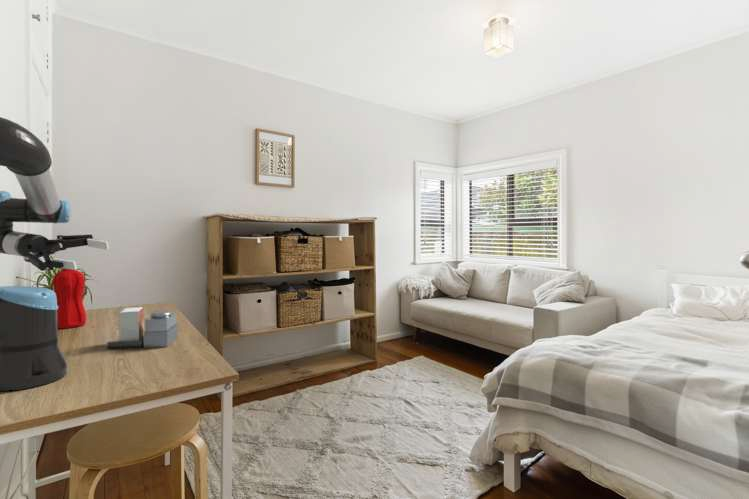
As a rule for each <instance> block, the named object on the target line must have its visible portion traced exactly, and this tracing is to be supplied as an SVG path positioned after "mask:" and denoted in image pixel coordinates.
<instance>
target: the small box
mask: <svg viewBox="0 0 749 499" xmlns="http://www.w3.org/2000/svg"><path fill="white" fill-rule="evenodd" d="M118 318H119V321H118V325H119V327H118V328H119V339H120V341H139V340H141V339H142V338H143V337H144V332H145V330H144V328H145V324H144V322H145V321H144V306H140V307H124V309H122V310H120V312H118Z"/></svg>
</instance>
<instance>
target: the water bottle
mask: <svg viewBox="0 0 749 499" xmlns="http://www.w3.org/2000/svg"><path fill="white" fill-rule="evenodd" d="M52 278H53V279H52V286H53V289H54V290H53V291H54V292H55V294H56V298H57V306H58V309H57V328H58V329H63V330H64V329H70V328H71V329H72V328H76V327H77V328H78V327H82V326H84V325H85V324H87V313H86V310H85V306H84V303H83V294H84V290H85V286H86V279H85V276H84V274H83V273H82V272H81V271H78V269H76V270H71V269H65V268H61V270H60V271H59V272H56V273H55V274H54V276H53V277H52Z"/></svg>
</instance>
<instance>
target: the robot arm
mask: <svg viewBox="0 0 749 499" xmlns="http://www.w3.org/2000/svg"><path fill="white" fill-rule="evenodd" d="M52 164H53V163H52V157H51V155H50V151H49V149H48V148H47V146H46V145H45V144H44V143H43V142H42V140H40V138H38V136H36V135H35V134H34V133H32V132H31V131H30V130H29V129H27V128H26V127H24V126H22V125H21V124H19V123H18V122H14V121H12V120H10V119H7V118H4V117H1V116H0V166H2V167H6V169H7V170H9V171H10V172H11V173H13V174H14V175H15V177H16V180H17V182H18V184H19V186H20V188H21V190H22V192H23V194H24V197H25V198H18V197H17V198H16V197H12V196H11V193H10V192H8V191H5V190H0V254H4V255H11V256H17V257H22V258H23V260H24V262H28V263H31V265H33V266H34V267H36V268H37V269H38V270H40V271H42V272H44V271H46V269H47V268H48V271H54V270H55V269H54V268H56V269H62V268H65V269H71V270H78V267H77V262H76V260H69V259H63V258H56V257H53V258H52V259H51V255H54V254H56V253H57V252H60V251H66V250H67V249H72V248H78V247H86V246H88V247H89V248H95V249H101V250H109V249H110V245H109V241H107V240H101V239H97V238H94V237H93V234H76V235H75V234H74V235H73V234H72V235H71V234H70V235H62V234H58V235H56V239H48V238H47V237H45V236H43V235H41V234H35V233H29V232H22V231H14V224H13V223H40V224H42V223H44V224H66V223H70V220H71V212H72V211H71V204H70V202H69V201H67V200H61V199H60V197H59V195H58V191H57V188H56V185H55V182H54V179H53V175H52V173H51V170H50V169H51V167H52ZM61 246H62V247H61ZM41 258H43V260H41ZM57 309H58V306H57V296H56V293H55V290H52V289H50V288H47V287H41V286H31V285H30V286H29V285H9V286H8V285H3V286H0V392H10V391H9V390H13V391H19V390H24V389H25V390H26V389H31V388H36V387H39V386H45V385H47V384H50V383H53V382H55V381H58V380H60V379H62V378H64V377H65V376H66V375H67V374H68V364H67V362H66V359H65V357H64V356H63V353H62V351H61V349H60V346H59V341H58V340H59V338H58V337H59V332H58V329H59V328H58V327H57Z"/></svg>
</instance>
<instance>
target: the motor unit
mask: <svg viewBox="0 0 749 499" xmlns="http://www.w3.org/2000/svg"><path fill="white" fill-rule="evenodd" d="M144 322H145V324H144V328H145V330H144V337H143V338H142V339H141V340H139V341H120V338H118V339H117V340H115V341H108V342H107V343H106V344H107V347H106V348H107V350H122V349H123V350H125V349H142V348H144V349H147V348H150V349H151V348H168V347H169V346H170V345H171V344H172V343H174V342H175V341H176V340H177V339H179V332H178V329H179V327H178V326H179V325H178V323H177V312H172V311H170V310H160V311H159V310H158V311H154V312H151V313H150V316H149V317H148V318H146V319H145V320H144ZM175 339H176V340H175Z"/></svg>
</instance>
